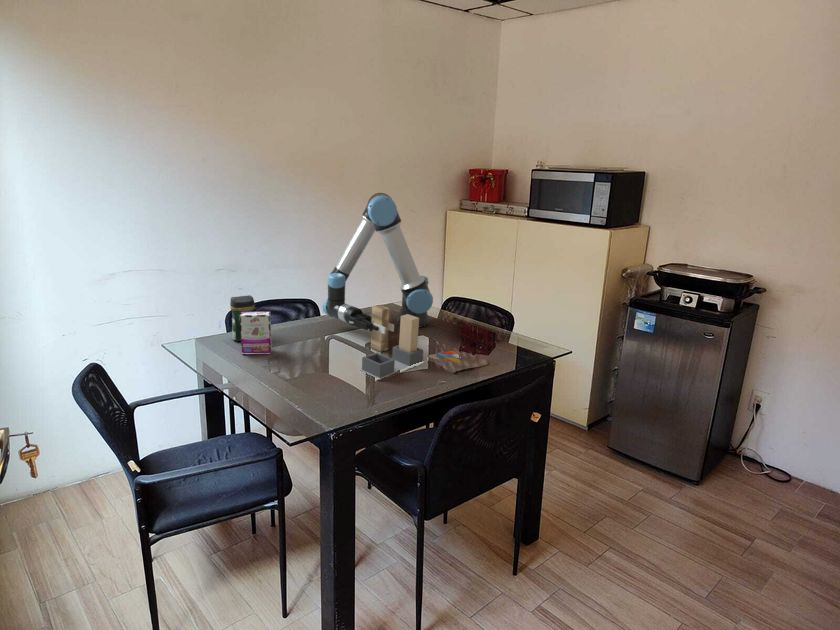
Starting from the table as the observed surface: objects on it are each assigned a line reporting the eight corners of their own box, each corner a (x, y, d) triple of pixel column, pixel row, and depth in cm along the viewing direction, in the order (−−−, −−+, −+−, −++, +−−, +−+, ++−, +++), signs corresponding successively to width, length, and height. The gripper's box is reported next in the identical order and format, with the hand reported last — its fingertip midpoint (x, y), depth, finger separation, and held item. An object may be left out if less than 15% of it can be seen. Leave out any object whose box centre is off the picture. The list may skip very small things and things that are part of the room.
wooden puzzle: (489, 365, 222) (490, 357, 221) (454, 376, 211) (455, 367, 210) (460, 351, 235) (460, 343, 234) (425, 360, 224) (426, 352, 222)
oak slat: (377, 345, 233) (379, 304, 228) (387, 349, 229) (389, 308, 224) (370, 347, 230) (371, 306, 225) (380, 351, 227) (382, 310, 221)
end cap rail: (405, 355, 225) (408, 311, 219) (424, 363, 219) (427, 318, 213) (359, 372, 207) (361, 324, 201) (378, 381, 201) (380, 332, 195)
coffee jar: (252, 334, 237) (251, 292, 231) (258, 340, 231) (256, 297, 225) (229, 337, 232) (227, 294, 226) (234, 343, 226) (232, 300, 220)
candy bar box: (271, 349, 222) (270, 311, 217) (271, 354, 218) (270, 315, 212) (242, 350, 220) (241, 311, 215) (241, 355, 215) (239, 315, 210)
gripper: (365, 319, 245) (403, 333, 231) (335, 327, 233) (373, 343, 218) (365, 302, 243) (404, 316, 228) (335, 310, 231) (374, 325, 216)
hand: (389, 329), depth 223 cm, fingers closed on oak slat, 4 cm apart
